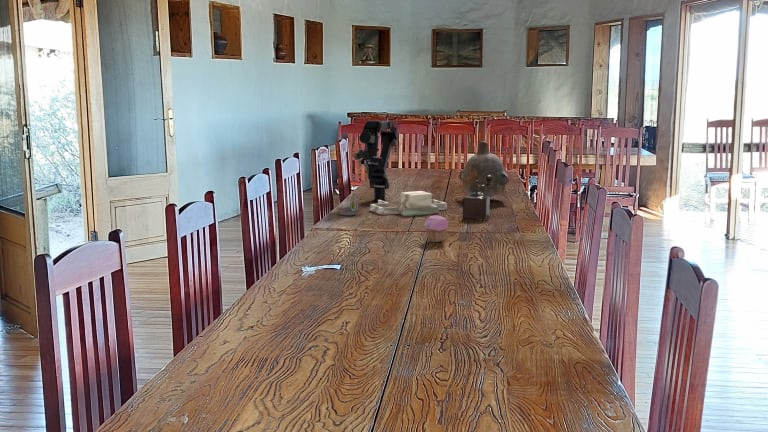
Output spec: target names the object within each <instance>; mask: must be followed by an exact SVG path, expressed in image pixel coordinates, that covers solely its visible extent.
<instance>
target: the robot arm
mask: <svg viewBox="0 0 768 432" xmlns="http://www.w3.org/2000/svg"><path fill="white" fill-rule="evenodd" d="M399 137H400V135H399V131H398V129H397V127H395V125H393V122H392V121H390V120H382V121H381V120H377V119H376V120H374V119H372V120H370V119H367V120H366V122H365V123H364V126H363V128H362V132H360V135H359V141H360V142H361V143H362V144H364V145H365V147H364V148H363V149H359V150H358V152H355V153H353V158H354V161H356V160H357V161H359V162H358V164H359V165H362V166H363V167H364V168H365V170H366V175H367V176H366V177H367V179H368V180H369V188H370V189H373V198H372V199H371V201H373V202H378V200H382V201H385V202H387V200H388V198H386V190H389V189H390V182H389V178H388V175H387V173H386V171H387V167H388V163H389V160H390V156H391V153H392V148H393V147H395V146H396V144H397V142H398V140H399ZM379 139H381V142H382V147H381V150H380V148H378V147H379ZM379 151H380V153H379V156H378V152H379Z"/></svg>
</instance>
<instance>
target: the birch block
mask: <svg viewBox="0 0 768 432" xmlns="http://www.w3.org/2000/svg"><path fill="white" fill-rule="evenodd" d="M432 197H433V193H430V192H427V191H423V190H418V191H404V192H400V207H403V208H406V209H410V208H422V207H432V200H433V199H432Z"/></svg>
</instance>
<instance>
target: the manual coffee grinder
mask: <svg viewBox="0 0 768 432" xmlns="http://www.w3.org/2000/svg"><path fill="white" fill-rule="evenodd" d="M493 179H494V178H493V177H492V176H490V175H488V176H486V177H485V180H486V184H485V185H478V180H476V181H475V182H476V183H475V185H476V191H475V192H474V193H471V194H467V195H465V196H464V197H463V198H462V201H463V202H462V219H464V218H471V219H470V220H478V219H486V218H487V219H489V218H488V217H490V207H491V204H490V203H491V201H490V199H491V197H490V196H487V195H484V194H483V193H481V192H478V187H486V186H488V187H489V186H492V184H491V183H492V181H493ZM484 193H485V192H484ZM487 219H486V220H487Z"/></svg>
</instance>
